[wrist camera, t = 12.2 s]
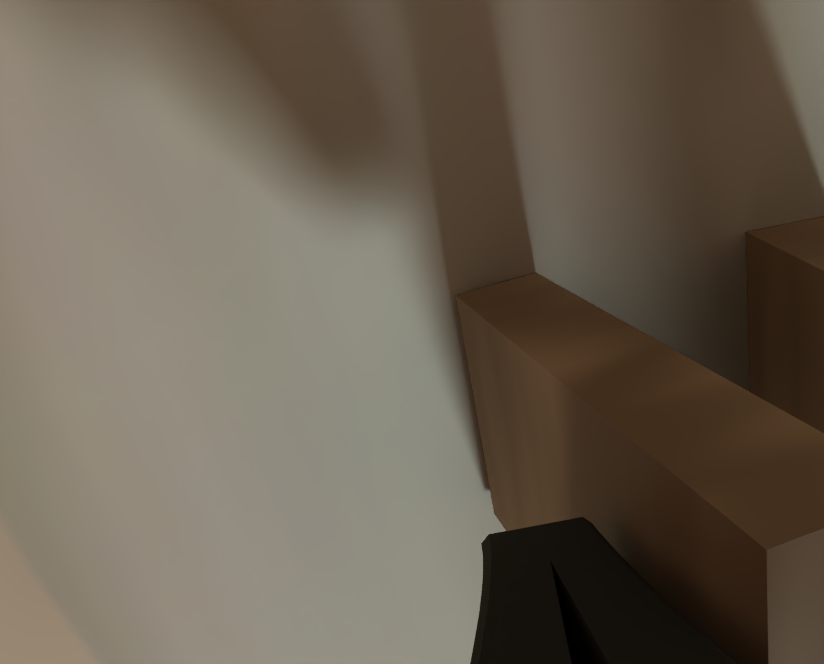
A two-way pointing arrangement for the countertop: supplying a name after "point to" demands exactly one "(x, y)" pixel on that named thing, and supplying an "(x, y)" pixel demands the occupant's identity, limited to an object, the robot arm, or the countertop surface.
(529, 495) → the brown flat rectangular block
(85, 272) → the countertop surface
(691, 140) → the countertop surface
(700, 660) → the robot arm
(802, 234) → the domino
